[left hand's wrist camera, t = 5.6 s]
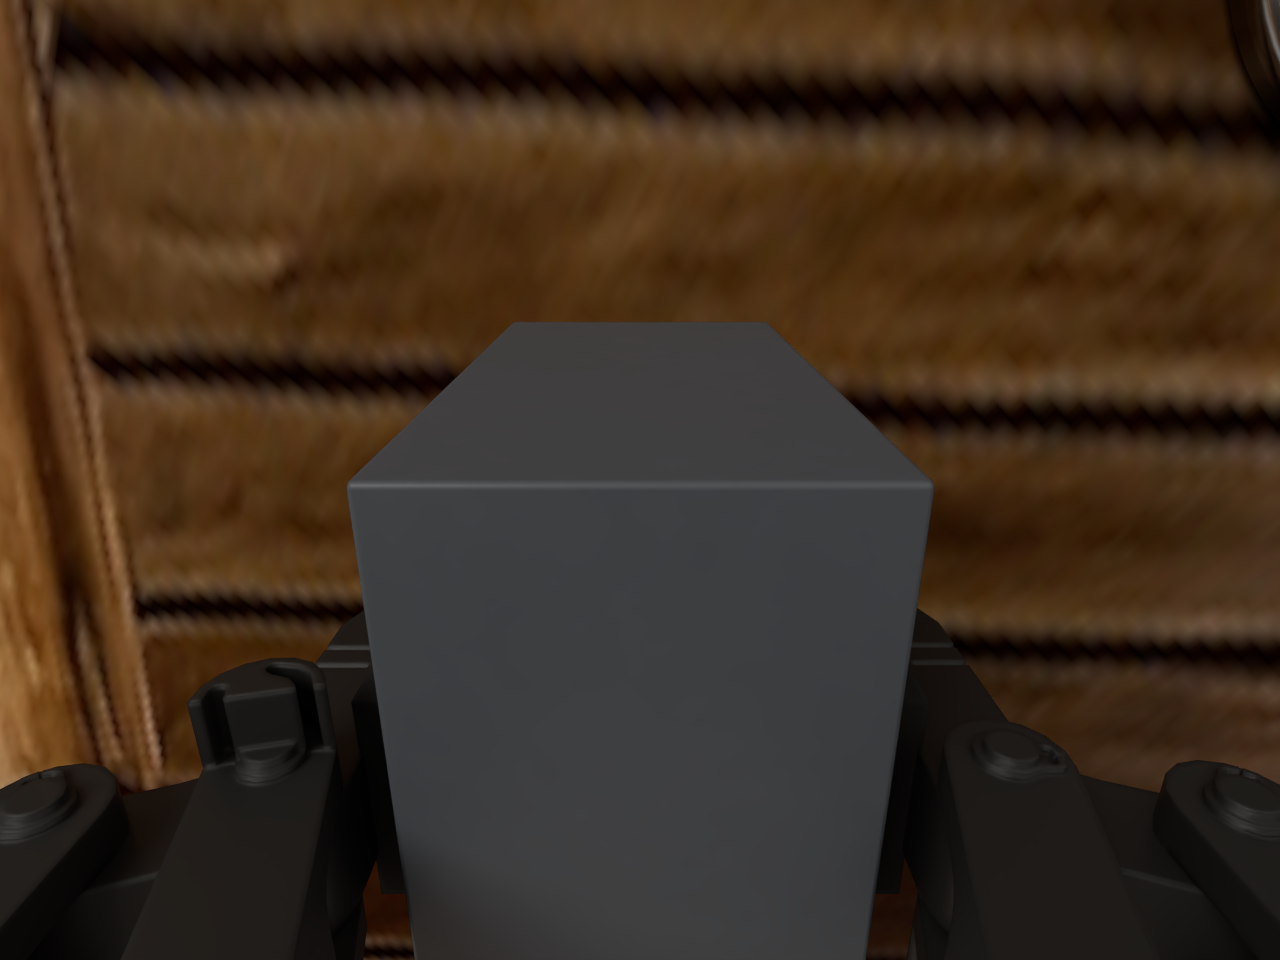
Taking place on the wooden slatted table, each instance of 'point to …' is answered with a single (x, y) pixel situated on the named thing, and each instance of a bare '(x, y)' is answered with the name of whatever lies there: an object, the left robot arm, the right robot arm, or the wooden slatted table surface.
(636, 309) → the wooden slatted table surface
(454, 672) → the bar
